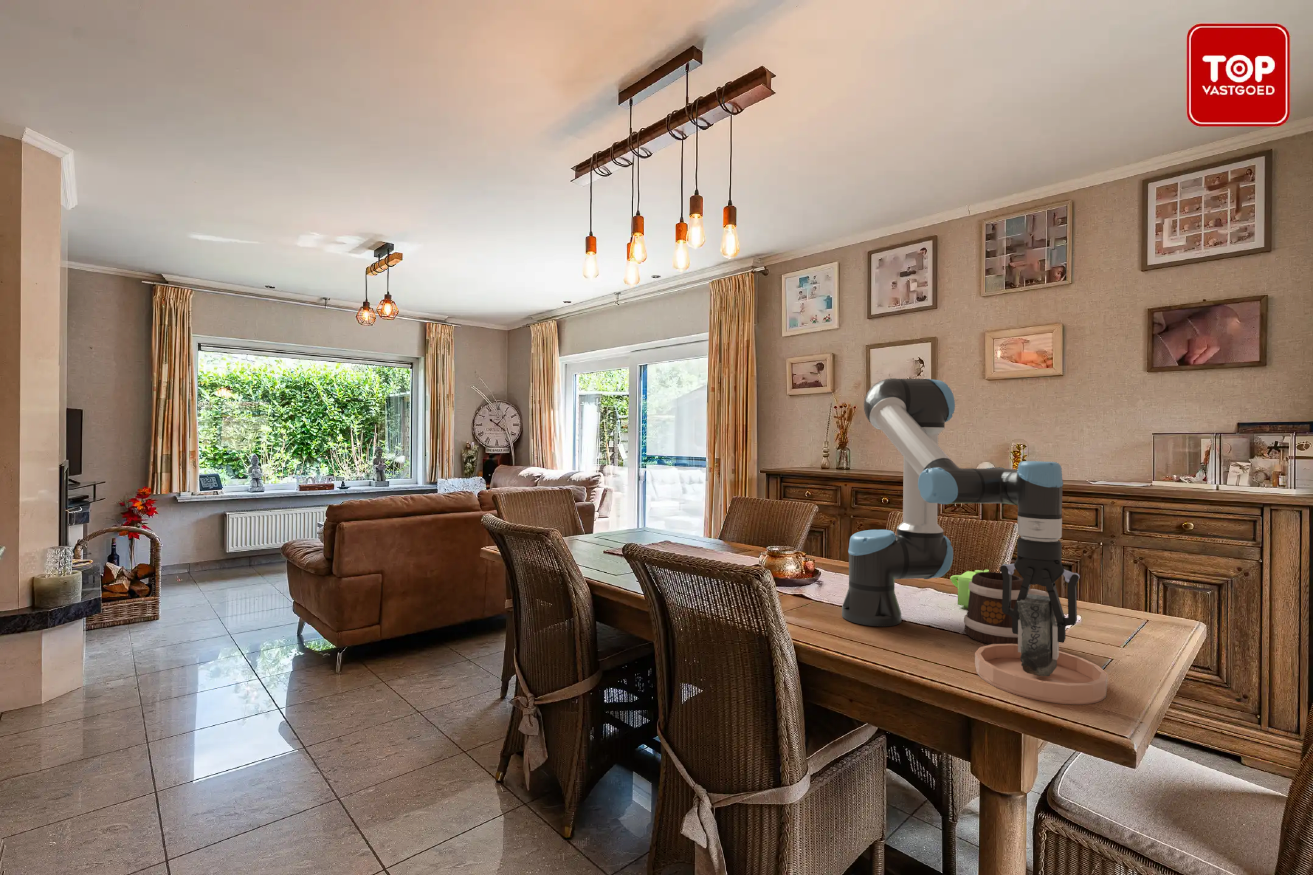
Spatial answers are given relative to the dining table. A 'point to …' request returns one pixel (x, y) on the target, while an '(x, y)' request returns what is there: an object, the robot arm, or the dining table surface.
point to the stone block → (1037, 635)
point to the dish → (1063, 686)
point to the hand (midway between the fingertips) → (1038, 653)
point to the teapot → (964, 586)
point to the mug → (992, 608)
